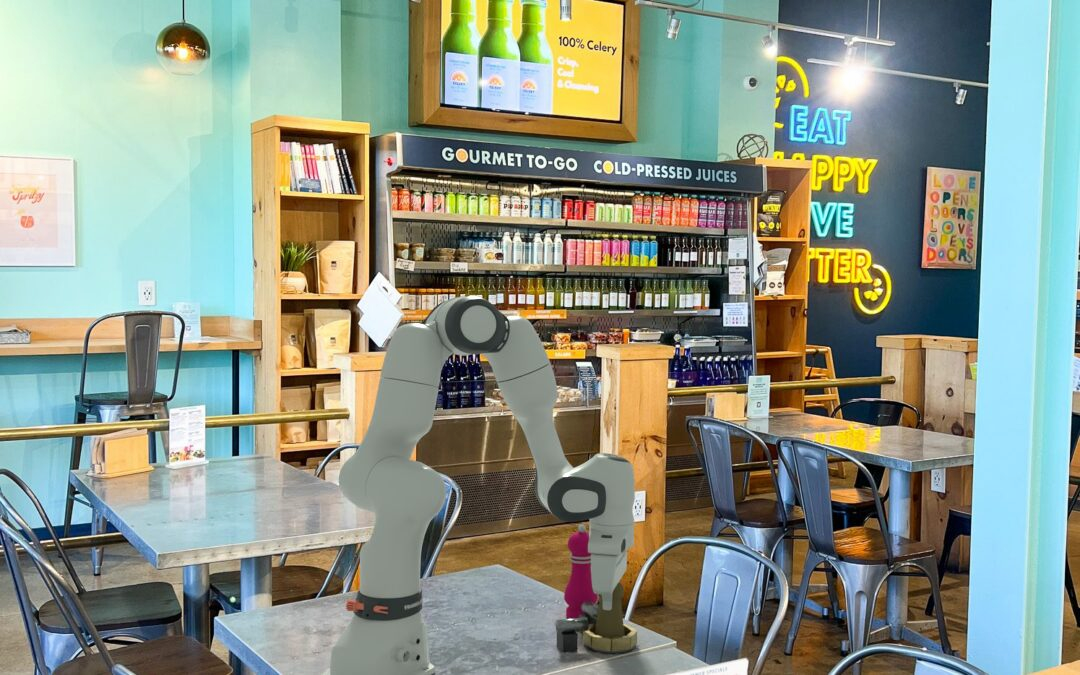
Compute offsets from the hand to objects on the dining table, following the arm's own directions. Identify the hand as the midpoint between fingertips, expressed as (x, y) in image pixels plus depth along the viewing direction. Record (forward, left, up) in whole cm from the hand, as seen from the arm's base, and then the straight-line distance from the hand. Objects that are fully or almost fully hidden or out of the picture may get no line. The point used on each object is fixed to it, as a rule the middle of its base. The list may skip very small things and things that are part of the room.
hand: (609, 605), depth 208 cm
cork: (0, 0, -7) cm, 7 cm away
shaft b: (+6, +6, -8) cm, 11 cm away
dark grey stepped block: (-5, +6, -8) cm, 11 cm away
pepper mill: (+15, +12, -8) cm, 21 cm away
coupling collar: (0, 0, -8) cm, 8 cm away
